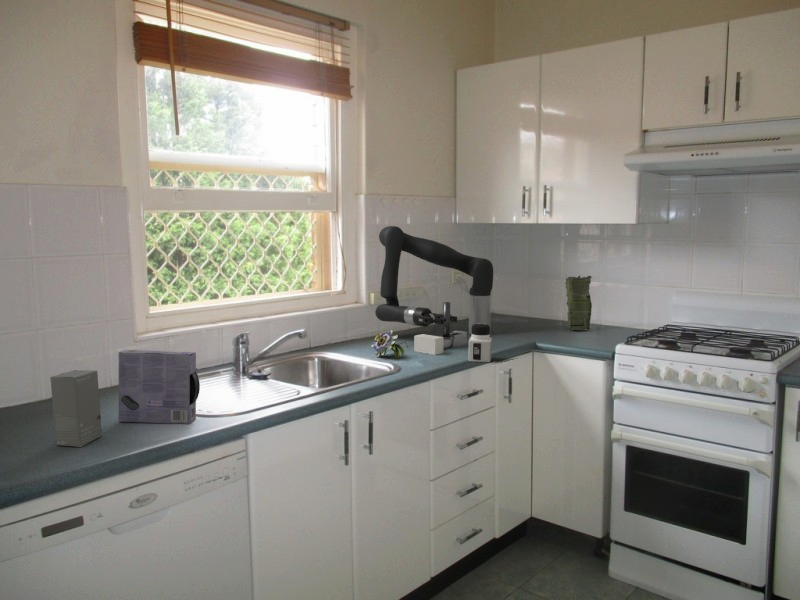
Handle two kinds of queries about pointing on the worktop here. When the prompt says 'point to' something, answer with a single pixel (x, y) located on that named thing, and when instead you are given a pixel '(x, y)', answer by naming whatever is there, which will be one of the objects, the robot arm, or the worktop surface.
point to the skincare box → (76, 407)
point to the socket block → (428, 344)
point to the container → (480, 343)
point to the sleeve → (459, 338)
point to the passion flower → (387, 344)
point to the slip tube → (446, 325)
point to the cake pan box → (157, 386)
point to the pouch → (578, 302)
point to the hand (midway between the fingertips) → (450, 320)
